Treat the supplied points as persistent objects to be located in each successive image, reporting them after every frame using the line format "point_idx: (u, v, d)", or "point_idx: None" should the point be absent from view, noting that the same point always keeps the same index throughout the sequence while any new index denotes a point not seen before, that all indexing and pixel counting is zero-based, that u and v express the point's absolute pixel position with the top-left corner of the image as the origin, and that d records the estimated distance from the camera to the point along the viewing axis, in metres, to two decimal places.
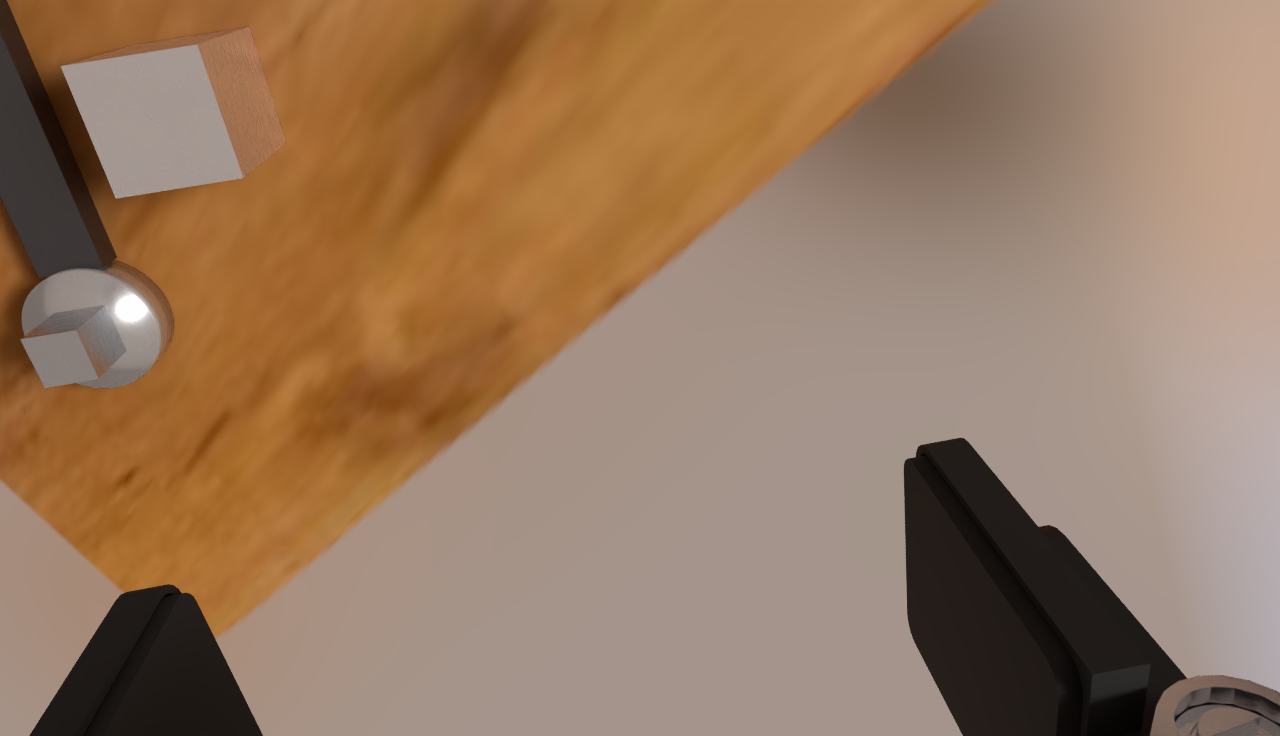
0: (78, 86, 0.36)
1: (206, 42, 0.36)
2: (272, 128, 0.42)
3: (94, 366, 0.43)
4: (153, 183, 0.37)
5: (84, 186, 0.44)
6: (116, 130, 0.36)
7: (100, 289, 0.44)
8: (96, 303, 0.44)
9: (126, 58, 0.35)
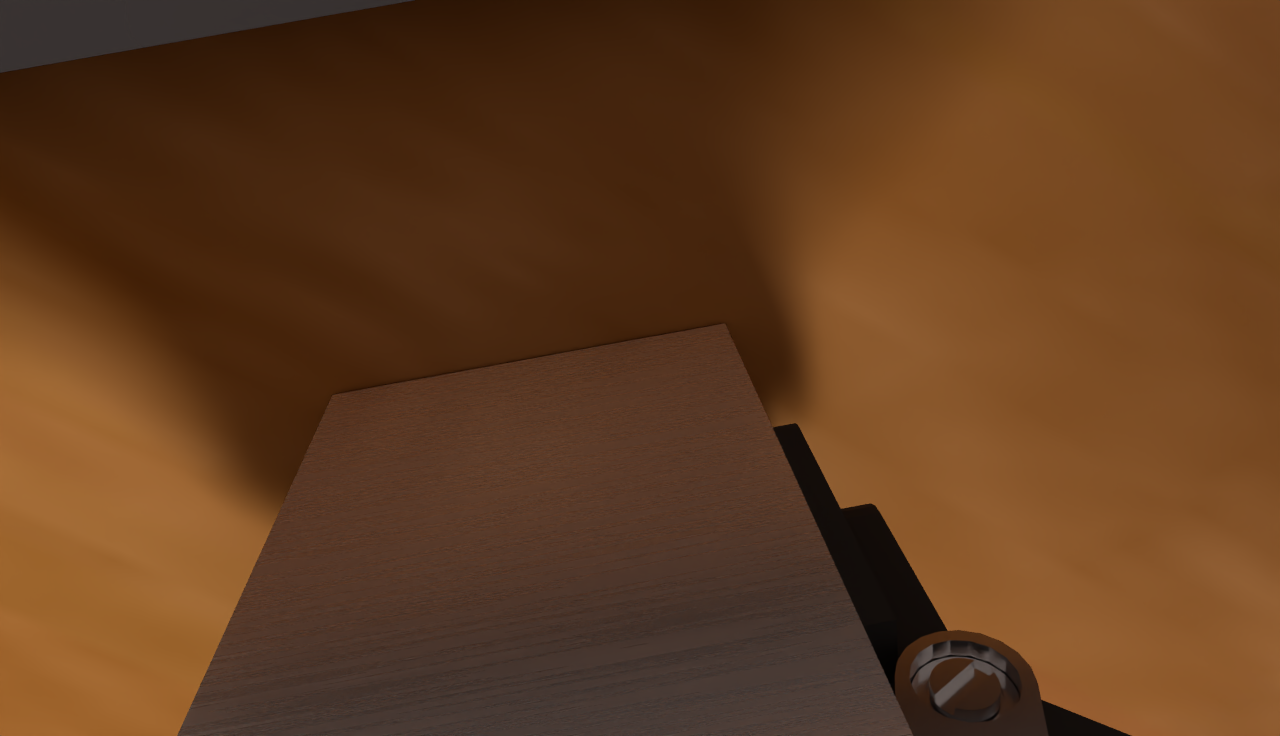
0: None
1: None
2: None
3: None
4: None
5: None
6: None
7: None
8: None
9: None
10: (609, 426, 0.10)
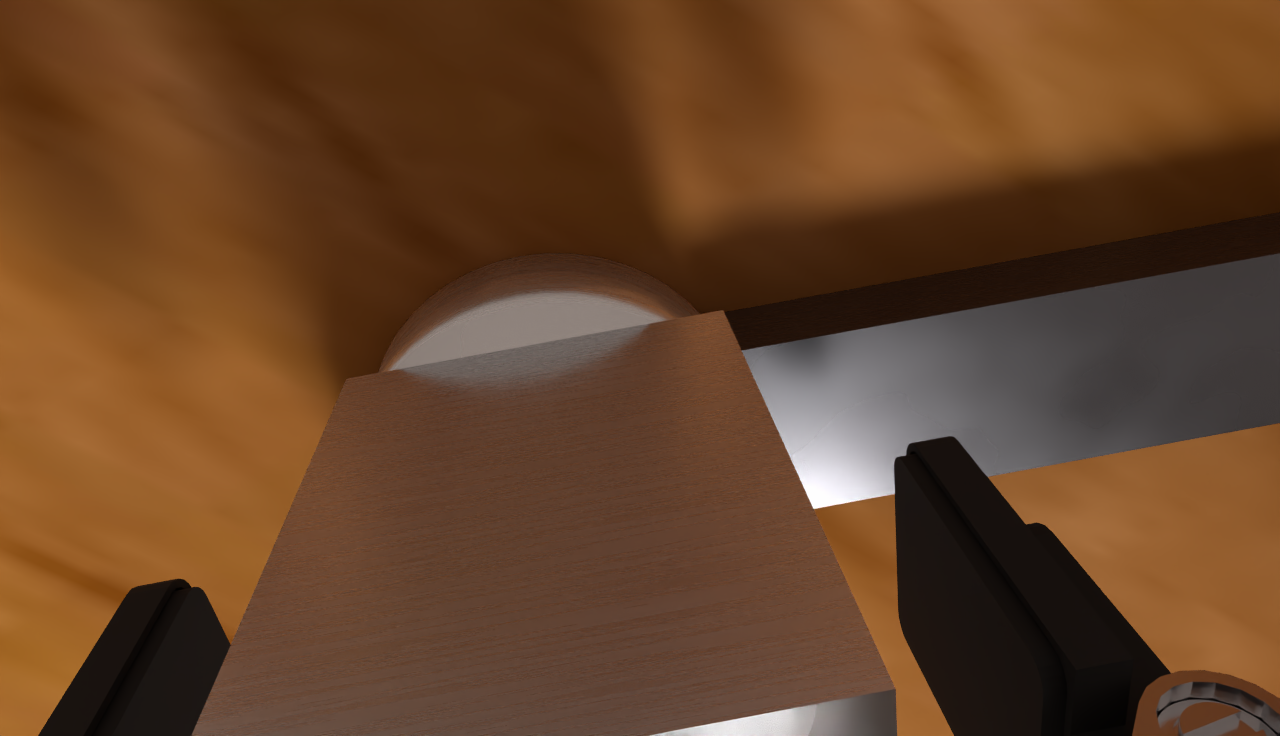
0: None
1: None
2: None
3: None
4: None
5: None
6: None
7: None
8: None
9: None
10: (612, 407, 0.11)
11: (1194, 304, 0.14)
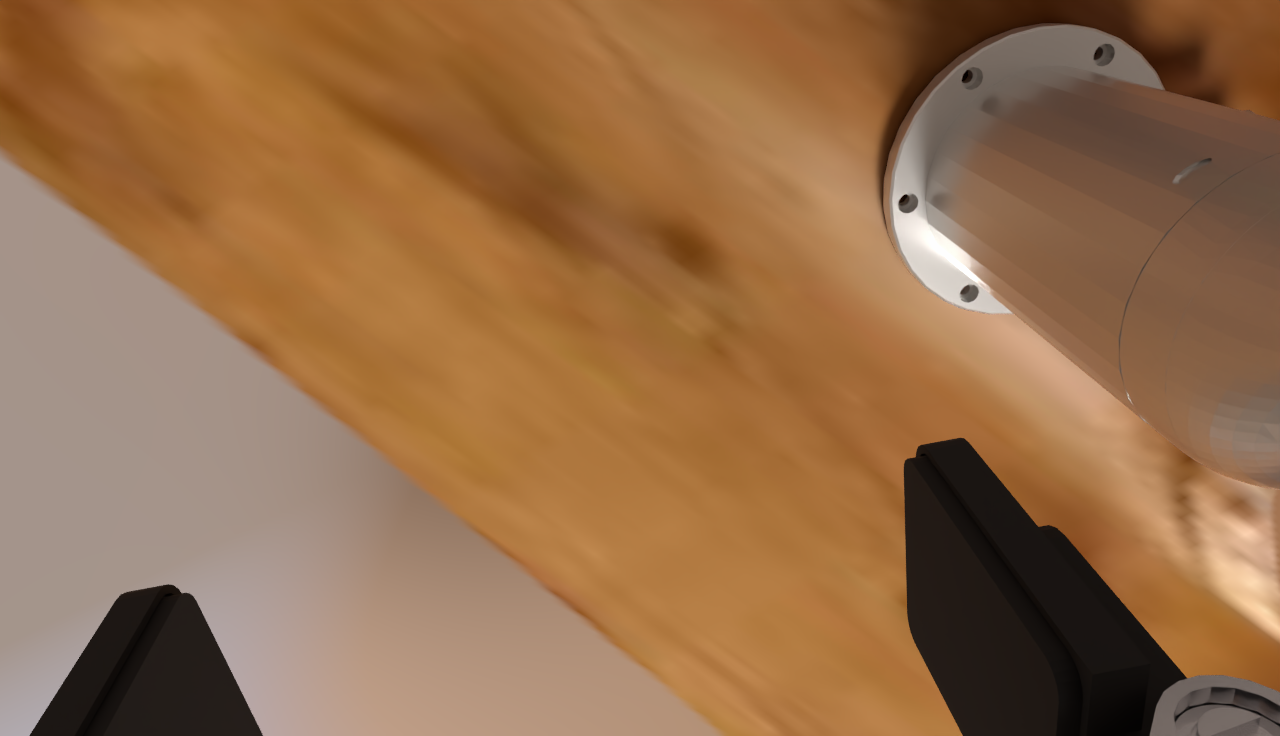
0: None
1: None
2: None
3: None
4: None
5: None
6: None
7: None
8: None
9: None
10: None
11: None
